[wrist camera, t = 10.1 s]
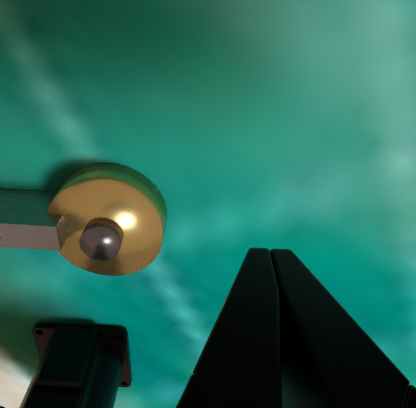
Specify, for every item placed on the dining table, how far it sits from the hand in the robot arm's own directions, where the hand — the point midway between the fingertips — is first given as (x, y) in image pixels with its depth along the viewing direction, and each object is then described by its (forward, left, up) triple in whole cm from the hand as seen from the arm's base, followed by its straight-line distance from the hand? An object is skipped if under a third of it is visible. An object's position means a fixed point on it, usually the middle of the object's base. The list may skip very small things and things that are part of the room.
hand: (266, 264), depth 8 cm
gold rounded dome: (-7, +6, -12) cm, 15 cm away
